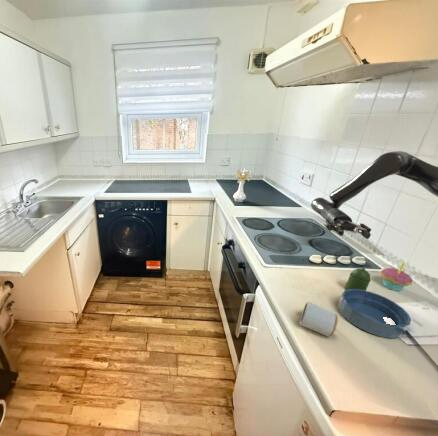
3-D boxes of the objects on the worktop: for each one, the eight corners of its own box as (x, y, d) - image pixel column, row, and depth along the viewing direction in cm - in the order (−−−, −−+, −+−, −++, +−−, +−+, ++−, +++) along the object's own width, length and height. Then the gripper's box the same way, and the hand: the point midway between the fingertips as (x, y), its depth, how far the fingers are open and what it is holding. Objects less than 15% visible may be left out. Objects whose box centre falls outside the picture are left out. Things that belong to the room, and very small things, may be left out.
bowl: (383, 305, 82) (389, 293, 80) (418, 344, 68) (426, 332, 66) (329, 296, 86) (333, 285, 84) (351, 332, 72) (357, 319, 70)
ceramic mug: (331, 343, 68) (339, 323, 65) (298, 329, 73) (305, 310, 70) (331, 320, 76) (338, 301, 73) (301, 309, 81) (307, 291, 78)
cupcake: (407, 297, 86) (422, 269, 81) (376, 286, 91) (388, 260, 86) (406, 285, 91) (419, 259, 87) (376, 276, 97) (388, 251, 92)
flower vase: (230, 204, 179) (235, 171, 169) (230, 196, 195) (235, 166, 185) (249, 205, 175) (255, 172, 165) (247, 198, 191) (252, 167, 181)
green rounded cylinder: (359, 287, 91) (368, 265, 87) (367, 297, 86) (377, 274, 82) (342, 285, 92) (350, 263, 88) (349, 294, 87) (358, 271, 83)
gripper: (321, 209, 106) (337, 224, 92) (359, 213, 103) (381, 228, 88) (316, 224, 109) (331, 241, 95) (353, 228, 106) (373, 246, 91)
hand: (355, 235), depth 92 cm, fingers open, 8 cm apart
